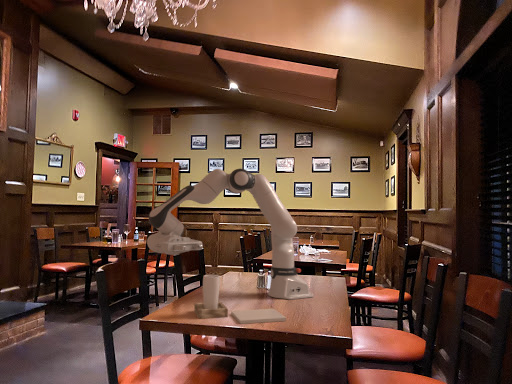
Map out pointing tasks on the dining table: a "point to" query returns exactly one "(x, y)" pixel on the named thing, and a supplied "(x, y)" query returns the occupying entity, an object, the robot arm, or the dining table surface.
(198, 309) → the wooden tray
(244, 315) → the plate
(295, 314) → the dining table surface
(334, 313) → the dining table surface
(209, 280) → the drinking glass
